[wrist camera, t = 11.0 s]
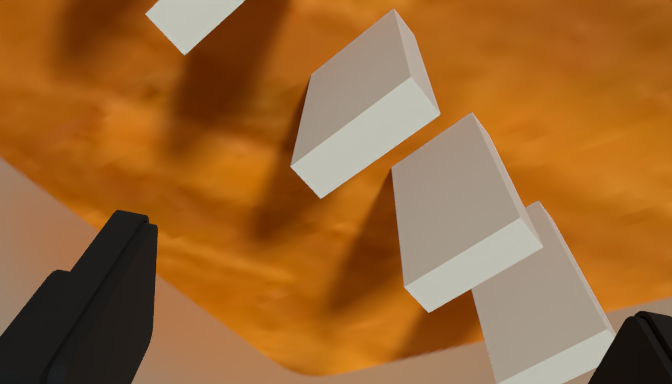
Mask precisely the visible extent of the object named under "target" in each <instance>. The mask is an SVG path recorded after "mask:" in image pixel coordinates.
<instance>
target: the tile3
mask: <svg viewBox="0 0 672 384" xmlns="http://www.w3.org/2000/svg"><path fill="white" fill-rule="evenodd" d="M439 115H440V111H439V108H438V105H437V102H436V99H435V96H434V93H433V90H432V87H431V84H430V81H429V78H428V75H427V72H426V69H425V66H424V63H423V60H422V57H421V54H420V51H419V48H418V45H417V42H416V39H415V36H414V34H413V33H412V32H411V30H410V29H409V28H408V26H407V25H406V24H405V22H404V21H403V20H402V18H401V17H400V16H399V14H398V13H397V12H396V10H395V9H394V8H393V9H392V10H391V11H389V12H388V13H387V14H386V15H384V16H383V17H382V18H381V19H379V20H378V21H377V22H376V23H374V24H373V25H372V26H371V27H369V28H368V29H367V30H366V31H364V32H363V33H362V34H361V35H360V36H358V37H357V38H356V39H355V40H353V41H352V42H351V43H350V44H348V45H347V46H346V47H345V48H343V49H342V50H341V51H340V52H338V53H337V54H336V55H335V56H333V57H332V58H331V59H330V60H328V61H327V62H326V63H325V64H324V65H322V66H321V67H320V68H319V69H317V70H316V71H315V72H314V73H312V74H311V78H310V82H309V86H308V91H307V95H306V100H305V104H304V108H303V113H302V117H301V122H300V126H299V130H298V135H297V139H296V144H295V148H294V152H293V157H292V161H291V166H290V167H291V168H292V169H293V170H294V171H295V172H296V173H297V174H298V175H299V176H300V177H301V179H302V180H303V181H304V182H305V183H306V184H307V185H308V186H309V187H310V188H311V189H312V190H313V191H314V192H315V193H316V194H317V195H318V196H319V197H320V199H321V198H323V197H324V196H326V195H327V194H329V193H330V192H331V191H333V190H334V189H336V188H337V187H338V186H340V185H341V184H343V183H344V182H346V181H347V180H348V179H350V178H351V177H353V176H354V175H355V174H357V173H358V172H360V171H361V170H363V169H364V168H365V167H367V166H368V165H370V164H371V163H372V162H374V161H375V160H377V159H378V158H380V157H381V156H382V155H384V154H385V153H387V152H388V151H389V150H391V149H392V148H394V147H395V146H397V145H398V144H399V143H401V142H402V141H404V140H405V139H406V138H408V137H409V136H411V135H412V134H414V133H415V132H416V131H418V130H419V129H421V128H422V127H423V126H425V125H426V124H428V123H429V122H431V121H432V120H433V119H435V118H436V117H438V116H439Z"/></svg>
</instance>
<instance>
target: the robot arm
mask: <svg viewBox="0 0 672 384" xmlns="http://www.w3.org/2000/svg"><path fill="white" fill-rule="evenodd" d="M157 237H158V228H157V225H154V224H149V218H148V216H147V215H142V214H137V213H132V212H127V211H122V210H116V211H115V212H114V213H113V215H112V216H111V217H110V219H109V220H108V221H107V223H106V224H105V225H104V227H103V228H102V230H101V231H100V232H99V234H98V235H97V236H96V238H95V239H94V240H93V242H92V243H91V244H90V246H89V247H88V248H87V250H86V251H85V252H84V254H83V255H82V256H81V258H80V259H79V260H78V262H77V263H76V264H75V266H74V267H73V268H72V270H71V271H70V272H69V271H63V270H56V271H53V272H52V273H51V274H50V275H49V276H48V277H47V278H46V280H45V281H44V282H43V283H42V285H41V286H40V287H39V288H38V290H37V291H36V292H35V294H34V295H33V296H32V297H31V299H30V300H29V301H28V302H27V304H26V305H25V306H24V307H23V309H22V310H21V311H20V313H19V314H18V315H17V316H16V318H15V319H14V320H13V321H12V323H11V324H10V325H9V326H8V328H7V329H6V330H5V332H4V333H3V334H2V335H1V336H0V384H131V383H132V381H133V378H134V376H135V374H136V372H137V370H138V368H139V365H140V363H141V361H142V359H143V357H144V355H145V353H146V351H147V348H148V346H149V343H150V340H151V336H152V331H153V316H154V296H155V295H154V294H155V276H156V257H157ZM588 384H672V317H670V316H667V315H662V314H657V313H651V312H646V311H640V312H638V313H636V314H635V316H630V317H628V318H627V319H626V320H625V321H624V323H623V325H622V326H621V328H620V330H619V331H618V333H617V335H616V336H615V338H614V340H613V342H612V343H611V345H610V347H609V348H608V350H607V352H606V354H605V355H604V357H603V359H602V360H601V362H600V364H599V366H598V367H597V369H596V371H595V372H594V374H593V376H592V378H591V379H590V381H589V383H588Z"/></svg>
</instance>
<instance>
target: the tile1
mask: <svg viewBox="0 0 672 384" xmlns="http://www.w3.org/2000/svg"><path fill="white" fill-rule="evenodd" d="M525 210H526V212H527V214H528V216H529V218H530V220H531V222H532V224H533V226H534V228H535V230H536V233H537V235H538V237H539V239H540V241H541V243H542V245H543V248H541V249H540V250H538V251H536V252H534V253H533V254H531V255H529V256H527V257H526V258H524V259H522V260H520V261H519V262H517V263H515V264H513V265H512V266H510V267H508V268H506V269H505V270H503V271H501V272H499V273H498V274H496V275H494V276H492V277H491V278H489V279H487V280H485V281H484V282H482V283H480V284H478V285H477V286H475V287H473V288H471V290H472V294H473V298H474V301H475V305H476V309H477V313H478V316H479V320H480V324H481V328H482V331H483V335H484V339H485V343H486V346H487V350H488V354H489V358H490V361H491V365H492V369H493V373H494V376H495V380H496V384H562V383H564V382H567V381H568V380H571V379H573V378H575V377H577V376H579V375H581V374H583V373H585V372H587V371H590V370H592V369H594V368H596V367H598V366H599V364H600V362H601V360H602V359H603V357H604V355H605V354H606V352H607V350H608V348H609V347H610V345H611V343H612V342H613V340H614V338H615V336H616V334H615V332H614V330H613V328H612V326H611V324H610V323H609V321H608V319H607V317H606V315H605V313H604V312H603V310H602V308H601V306H600V304H599V302H598V301H597V299H596V297H595V295H594V293H593V292H592V290H591V288H590V286H589V284H588V282H587V281H586V279H585V277H584V275H583V273H582V272H581V270H580V268H579V266H578V264H577V262H576V261H575V259H574V257H573V255H572V253H571V252H570V250H569V248H568V246H567V244H566V242H565V241H564V239H563V237H562V235H561V233H560V232H559V230H558V228H557V226H556V224H555V222H554V221H553V219H552V218H551V216H550V215H549V214H548V212H547V211H546V210H545V208H544V207H543V206H542V204H541V203H540V202H539V201H536V202H534V203H533V204H531V205H529V206H528V207H526V208H525Z"/></svg>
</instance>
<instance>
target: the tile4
mask: <svg viewBox="0 0 672 384" xmlns="http://www.w3.org/2000/svg"><path fill="white" fill-rule="evenodd" d="M244 1H245V0H159V1H158V2H157V3H156V4H155V5H154V6H153V7H152V8H151V9H150V10H149V11H148V12H147V13H146V15H147V16H148V18H149V19H150V20H151V21H152V22H153V23H154V24H155V25H156V26H157V27H158V28H159V29H160V30H161V31H162V32H163V33H164V34H165V35H166V36H167V38H168V39H169V40H170V41H171V42H172V43H173V44H174V45H175V46H176V47H177V48H178V49H179V50H180V51H181V52H182V53H183V54H184V55H185V54H187V53H188V52H189V51H190V50H191V49H192V48H193V47H194V46H195V45H196V44H198V43H199V42H200V41H201V40H202V39H203V38H204V37H205V36H206V35H208V34H209V33H210V32H211V31H212V30H213V29H214V28H215V27H216V26H217V25H219V24H220V23H221V22H222V21H223V20H224V19H225V18H226V17H227V16H228V15H230V14H231V13H232V12H233V11H234V10H235V9H236V8H237V7H238V6H239V5H241V4H242V3H243V2H244Z"/></svg>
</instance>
